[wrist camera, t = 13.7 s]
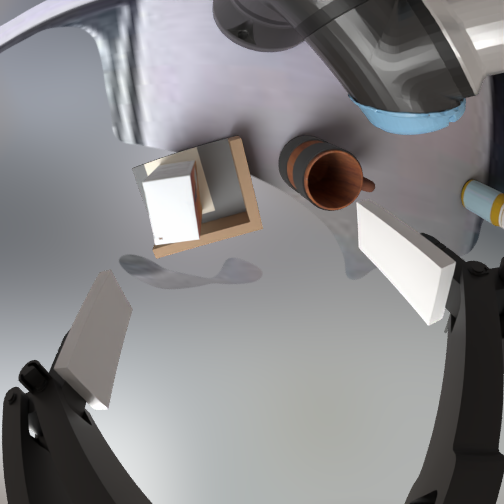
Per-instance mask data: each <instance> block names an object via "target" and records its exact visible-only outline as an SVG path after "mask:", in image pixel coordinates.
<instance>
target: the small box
mask: <svg viewBox="0 0 504 504" xmlns="http://www.w3.org/2000/svg"><path fill="white" fill-rule="evenodd" d="M142 184H143V188H144V192H145V197H146V202H147V207H148V212H149V217H150V221H151V226H152V231H153V236H154V242H155V245H161V244H168V243H176V242H183V241H191V240H199V239H200V232H201V221H202V205H201V199H200V192H199V184H198V176H197V167H196V161H195V160H192V161H184V162H177V163H171V164H165V165H159V166H158V167H157V168H156V169H155V170H154V171H153V172H152V173H151V174H150V175H149V176H148V177H147V178H146V179H145V180H144V181H143V182H142Z"/></svg>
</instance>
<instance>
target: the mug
mask: <svg viewBox="0 0 504 504" xmlns="http://www.w3.org/2000/svg"><path fill="white" fill-rule="evenodd" d="M279 171H280V174H281V176H282V178H283V180H284V181H285V182H286V183H287V184H288V185H289V186H290V187H291V188H292V189H294V190H295V191H297V192H298V193H300V194H301V195H302V196H303V197H304V198H306V199H307V200H309V201H310V202H311V203H312V204H313V205H315V206H316V207H318V208H320V209H323V210H328V211H334V210H339V209H342V208H344V207H346V206H348V205H350V204H351V203H352V202H353V201H354V200H355V199H356V198H357V197H358V195H359V193H360V191H361V190H363V191H366V192H372V191H374V189H375V184H374V182H372V181H371V180H369V179H367V178H365V177H363V172H362V168H361V166H360V163H359V162H358V160H357V159H356V157H355V156H354V155H352V154H351V153H350V152H348V151H346V150H344V149H341V148H339V147H337V146H335V145H333V144H330V143H328V142H326V141H324V140H322V139H319V138H316V137H313V136H300V137H297V138H294V139H293V140H291V141H290V142H288V143H287V144H286V145H285V147H284V148H283V150H282V151H281V154H280V157H279Z"/></svg>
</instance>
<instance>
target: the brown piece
mask: <svg viewBox="0 0 504 504" xmlns="http://www.w3.org/2000/svg"><path fill="white" fill-rule="evenodd" d="M192 160H195V161H196V167H197V176H198V184H199V192H200V199H201V205H202V221H201V232H200V239H199V240H191V241H183V242H176V243H168V244H161V245H154V247H153V252H154V255H155V257H156V258H160V257H164V256H167V255H171V254H174V253H177V252H181V251H184V250H188V249H192V248H195V247H199V246H202V245H205V244H209V243H213V242H216V241H220V240H223V239H227V238H231V237H234V236H238V235H242V234H246V233H249V232H253V231H257V230H260V229H263V227H262V222H261V218H260V214H259V210H258V206H257V201H256V197H255V193H254V189H253V185H252V181H251V176H250V172H249V168H248V164H247V160H246V156H245V152H244V147H243V143H242V139H241V138H240V137H239V136H238V135H237V136H233V137H229V138H226V139H222V140H218V141H214V142H211V143H207V144H204V145H200V146H197V147H193V148H190V149H187V150H184V151H180V152H177V153H174V154H171V155H168V156H165V157H162V158H159V159H156V160H154V161H151V162H148V163H145V164H142V165H140V166H137V167H134V168H132V171H133V173H134V176H135V179H136V182H137V185H138V187H139V190H140V193H141V196H142V199H143V201H144V204H145V207H146V209H147V212H148V207H147V202H146V197H145V192H144V188H143V184H142V182H143V181H144V180H145V179H146V178H147V177H148V176H149V175H150V174H151V173H152V172H153V171H154V170H155V169H156V168H157V167H158V166H159V165H165V164H171V163H177V162H184V161H192ZM148 215H149V212H148Z"/></svg>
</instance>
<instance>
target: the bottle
mask: <svg viewBox="0 0 504 504" xmlns="http://www.w3.org/2000/svg"><path fill="white" fill-rule="evenodd" d="M461 200H462V204H463V206H464V207H465V208H467V209H468V210H470V211H471V212H473V213H475V214H477V215H478V216H480V217H482V218H483V219H485V220H487V221H488V222H490V223H491V224H493V225H495V226H500V227H502V228H503V229H504V194H503V193H501V192H499V191H497V190H495V189H493V188H491V187H489V186H487V185H485V184H482V183H480V182H478V181H476V180H469V181H468V182H466V183H465V185H464V186H463V189H462V193H461Z"/></svg>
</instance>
